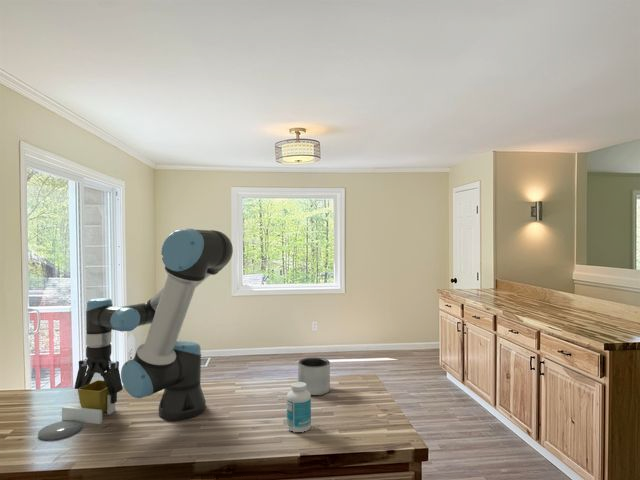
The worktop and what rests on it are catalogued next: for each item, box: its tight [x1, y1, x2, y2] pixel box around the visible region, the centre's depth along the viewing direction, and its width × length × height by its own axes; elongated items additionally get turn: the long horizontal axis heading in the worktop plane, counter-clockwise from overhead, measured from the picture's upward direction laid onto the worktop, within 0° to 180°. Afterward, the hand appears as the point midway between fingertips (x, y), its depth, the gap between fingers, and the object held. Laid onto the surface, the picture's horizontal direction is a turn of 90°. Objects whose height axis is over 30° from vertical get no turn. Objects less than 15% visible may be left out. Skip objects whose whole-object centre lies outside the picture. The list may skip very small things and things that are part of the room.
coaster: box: [37, 420, 83, 441], centre depth 118 cm, size 11×11×1 cm
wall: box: [61, 405, 103, 425], centre depth 124 cm, size 14×1×4 cm, turn 79°
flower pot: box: [77, 379, 110, 414], centre depth 131 cm, size 9×9×9 cm
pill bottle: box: [286, 381, 312, 433], centre depth 121 cm, size 8×7×14 cm
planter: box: [297, 357, 331, 397], centre depth 151 cm, size 13×13×11 cm
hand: (98, 411), depth 131 cm, fingers open, 9 cm apart
